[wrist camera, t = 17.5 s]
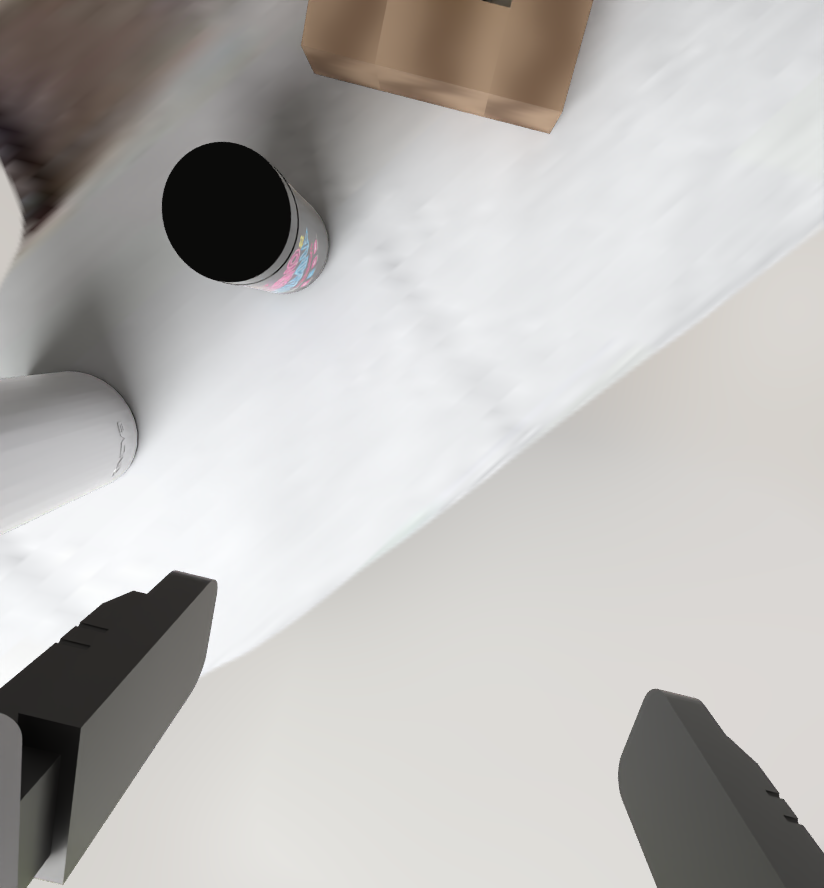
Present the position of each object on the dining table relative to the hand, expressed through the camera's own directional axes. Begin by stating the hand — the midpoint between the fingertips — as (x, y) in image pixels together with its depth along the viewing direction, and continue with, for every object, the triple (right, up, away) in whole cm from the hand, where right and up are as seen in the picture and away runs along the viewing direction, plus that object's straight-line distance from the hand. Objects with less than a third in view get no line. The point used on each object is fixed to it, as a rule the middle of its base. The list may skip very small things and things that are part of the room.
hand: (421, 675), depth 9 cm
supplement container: (-9, +18, +27) cm, 34 cm away
